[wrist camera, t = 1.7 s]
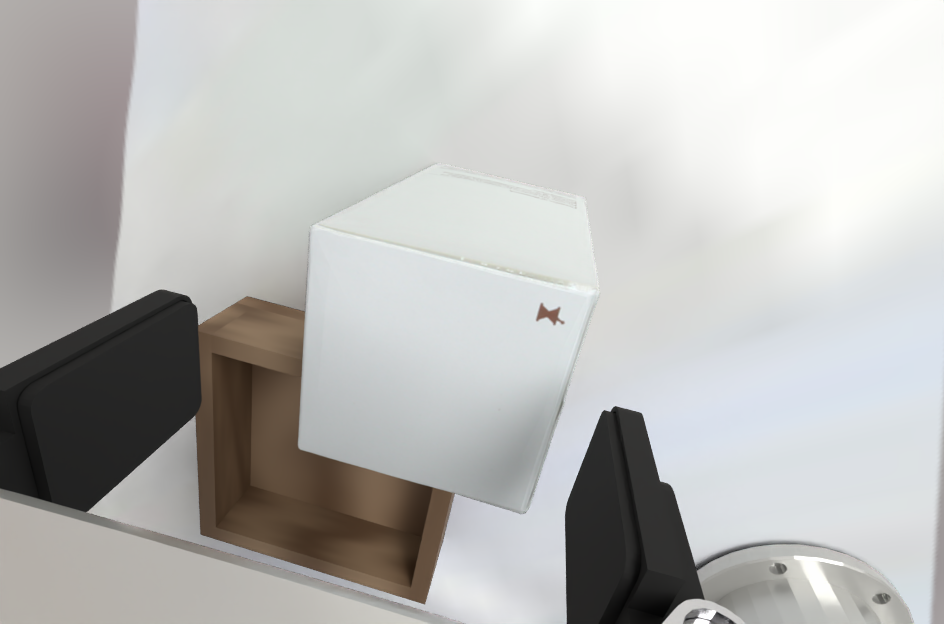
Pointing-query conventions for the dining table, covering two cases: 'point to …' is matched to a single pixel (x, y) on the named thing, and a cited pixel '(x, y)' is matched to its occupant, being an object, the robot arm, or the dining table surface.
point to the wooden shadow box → (299, 467)
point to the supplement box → (446, 330)
